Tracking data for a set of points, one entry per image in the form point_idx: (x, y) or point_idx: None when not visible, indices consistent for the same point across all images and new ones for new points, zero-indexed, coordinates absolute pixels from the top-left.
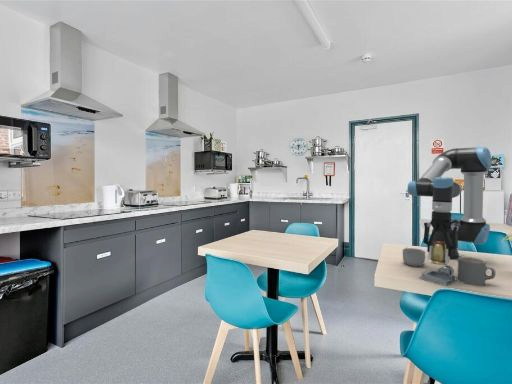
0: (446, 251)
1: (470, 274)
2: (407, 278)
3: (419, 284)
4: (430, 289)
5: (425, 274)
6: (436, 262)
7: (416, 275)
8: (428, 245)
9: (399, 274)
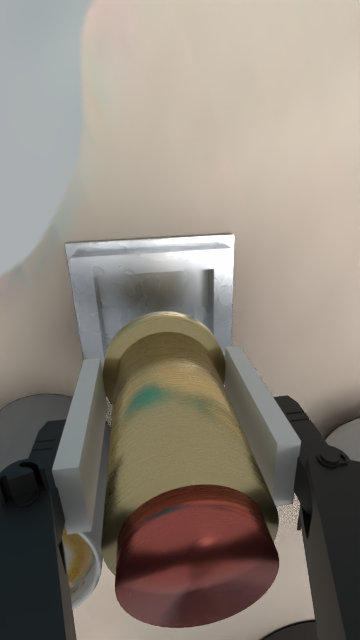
0: (74, 442)
1: (3, 437)
2: (288, 161)
3: (183, 103)
4: (87, 60)
5: (212, 256)
6: (159, 318)
7: (272, 281)
8: (320, 446)
9: (354, 197)
